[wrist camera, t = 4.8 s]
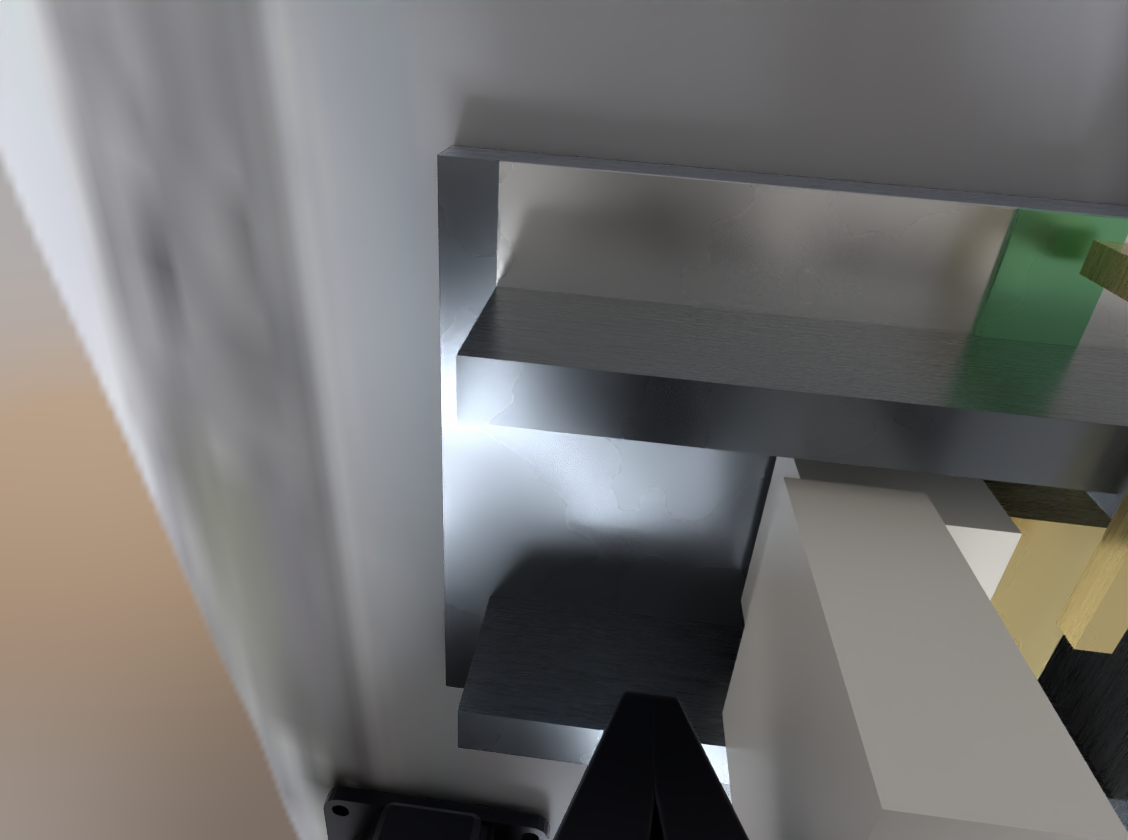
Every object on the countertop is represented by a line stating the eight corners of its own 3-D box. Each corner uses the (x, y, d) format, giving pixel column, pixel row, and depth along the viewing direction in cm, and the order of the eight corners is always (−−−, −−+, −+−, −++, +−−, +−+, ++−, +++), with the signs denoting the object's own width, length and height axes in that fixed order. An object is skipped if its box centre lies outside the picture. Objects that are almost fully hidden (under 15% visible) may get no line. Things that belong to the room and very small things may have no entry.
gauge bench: (1033, 728, 17) (1201, 1037, 12) (456, 653, 18) (376, 912, 13) (1327, 223, 11) (1906, 392, 6) (452, 145, 12) (303, 236, 7)
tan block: (973, 629, 14) (1064, 796, 11) (892, 619, 14) (958, 782, 11) (1165, 223, 10) (1384, 308, 7) (1051, 213, 10) (1220, 293, 7)
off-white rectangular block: (884, 637, 15) (1071, 1120, 8) (711, 615, 15) (760, 1070, 8) (968, 422, 12) (1328, 870, 6) (760, 400, 12) (883, 810, 6)
